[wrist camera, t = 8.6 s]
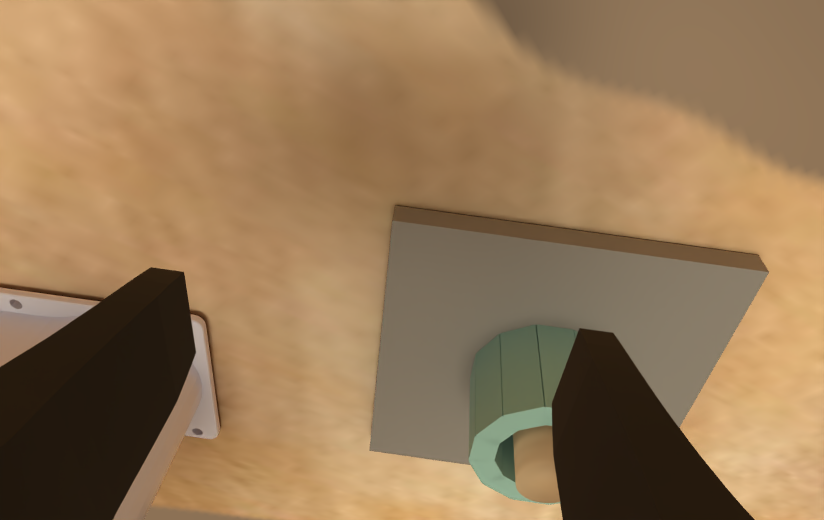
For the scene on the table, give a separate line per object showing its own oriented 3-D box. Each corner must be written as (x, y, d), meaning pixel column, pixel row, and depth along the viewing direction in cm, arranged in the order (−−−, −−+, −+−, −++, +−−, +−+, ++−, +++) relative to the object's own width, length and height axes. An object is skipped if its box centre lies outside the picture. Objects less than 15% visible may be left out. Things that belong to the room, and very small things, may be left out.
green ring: (462, 409, 26) (460, 491, 23) (484, 317, 23) (484, 398, 20) (586, 426, 26) (601, 512, 23) (625, 336, 23) (649, 421, 20)
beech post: (505, 390, 25) (509, 498, 21) (515, 352, 24) (523, 461, 20) (557, 397, 25) (572, 507, 21) (571, 360, 24) (589, 470, 20)
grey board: (372, 433, 29) (369, 450, 29) (395, 205, 22) (392, 220, 21) (639, 471, 29) (643, 489, 28) (758, 255, 21) (769, 272, 21)
